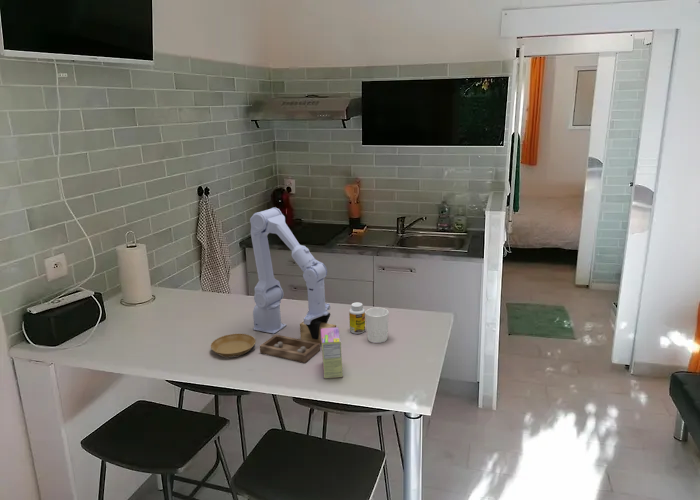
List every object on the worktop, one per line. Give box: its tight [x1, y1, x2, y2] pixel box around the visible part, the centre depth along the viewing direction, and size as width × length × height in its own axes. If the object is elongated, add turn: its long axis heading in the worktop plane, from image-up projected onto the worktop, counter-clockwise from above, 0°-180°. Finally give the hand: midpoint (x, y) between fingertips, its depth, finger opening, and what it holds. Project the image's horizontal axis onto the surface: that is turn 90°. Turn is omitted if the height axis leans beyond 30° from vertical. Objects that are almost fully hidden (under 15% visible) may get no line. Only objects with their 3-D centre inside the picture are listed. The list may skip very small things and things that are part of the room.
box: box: [321, 326, 343, 379], centre depth 163 cm, size 10×6×12 cm, turn 5°
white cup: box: [365, 307, 390, 344], centre depth 183 cm, size 8×8×10 cm
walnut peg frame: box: [259, 334, 321, 364], centre depth 177 cm, size 17×9×3 cm, turn 63°
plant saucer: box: [210, 333, 257, 358], centre depth 180 cm, size 15×15×3 cm
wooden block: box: [299, 320, 337, 345], centre depth 184 cm, size 12×4×6 cm, turn 63°
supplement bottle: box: [348, 302, 366, 335], centre depth 189 cm, size 6×6×10 cm
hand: (318, 335), depth 184 cm, fingers closed on wooden block, 4 cm apart
